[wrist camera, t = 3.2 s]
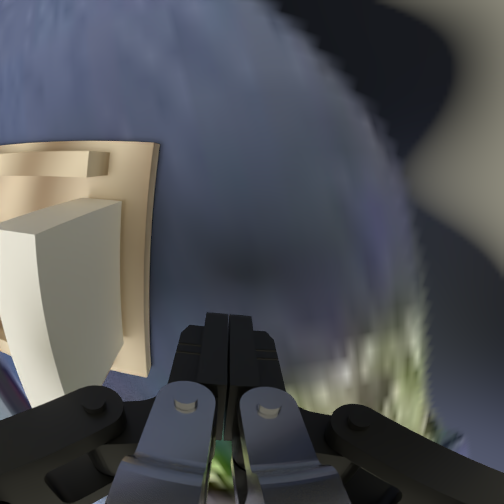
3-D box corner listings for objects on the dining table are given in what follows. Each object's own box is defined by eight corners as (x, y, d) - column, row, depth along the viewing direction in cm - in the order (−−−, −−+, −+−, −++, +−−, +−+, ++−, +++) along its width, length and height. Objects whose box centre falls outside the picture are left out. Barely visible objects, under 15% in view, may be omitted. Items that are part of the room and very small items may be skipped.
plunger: (121, 200, 11) (34, 234, 5) (123, 343, 13) (78, 431, 7) (-23, 191, 10) (-99, 213, 4) (-10, 305, 12) (-68, 352, 6)
